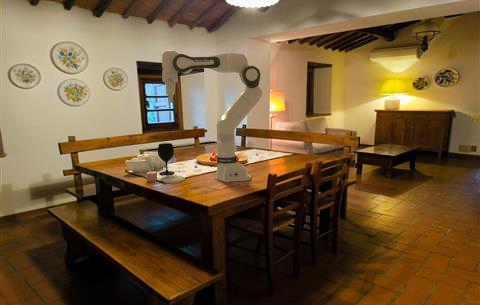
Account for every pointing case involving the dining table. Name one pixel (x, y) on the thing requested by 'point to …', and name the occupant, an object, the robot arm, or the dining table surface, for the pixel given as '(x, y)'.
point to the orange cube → (151, 176)
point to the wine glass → (166, 155)
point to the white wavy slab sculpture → (146, 162)
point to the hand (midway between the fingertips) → (170, 102)
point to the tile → (173, 179)
